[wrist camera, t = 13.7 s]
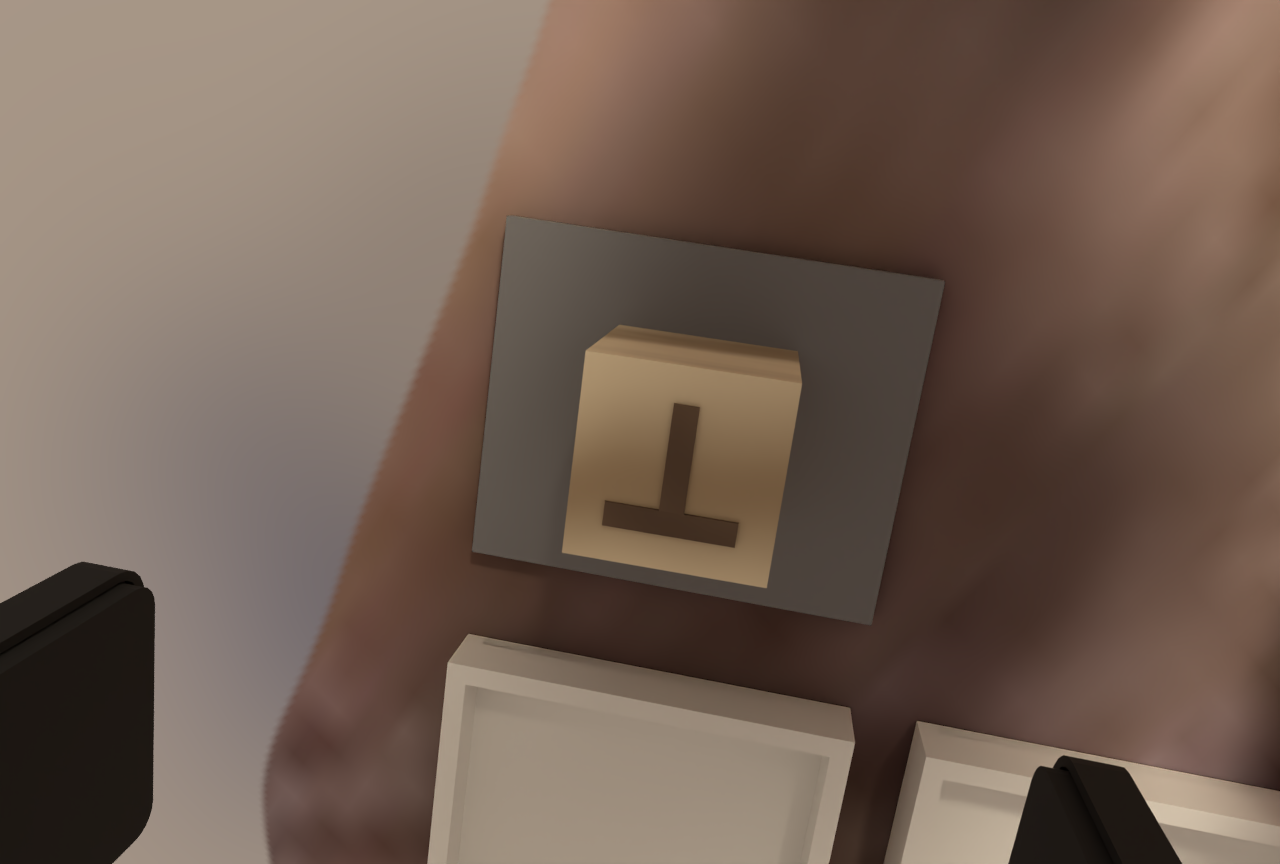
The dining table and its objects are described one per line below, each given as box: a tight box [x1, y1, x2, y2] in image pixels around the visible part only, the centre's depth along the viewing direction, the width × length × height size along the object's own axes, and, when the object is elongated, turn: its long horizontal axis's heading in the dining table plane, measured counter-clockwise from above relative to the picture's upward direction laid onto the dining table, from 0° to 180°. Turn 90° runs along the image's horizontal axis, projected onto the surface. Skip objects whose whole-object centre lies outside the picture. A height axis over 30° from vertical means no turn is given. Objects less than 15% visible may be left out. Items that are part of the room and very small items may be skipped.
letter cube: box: [562, 325, 802, 588], centre depth 25 cm, size 5×5×5 cm
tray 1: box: [427, 634, 855, 864], centre depth 31 cm, size 12×12×2 cm
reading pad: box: [472, 215, 945, 626], centre depth 28 cm, size 10×12×1 cm
